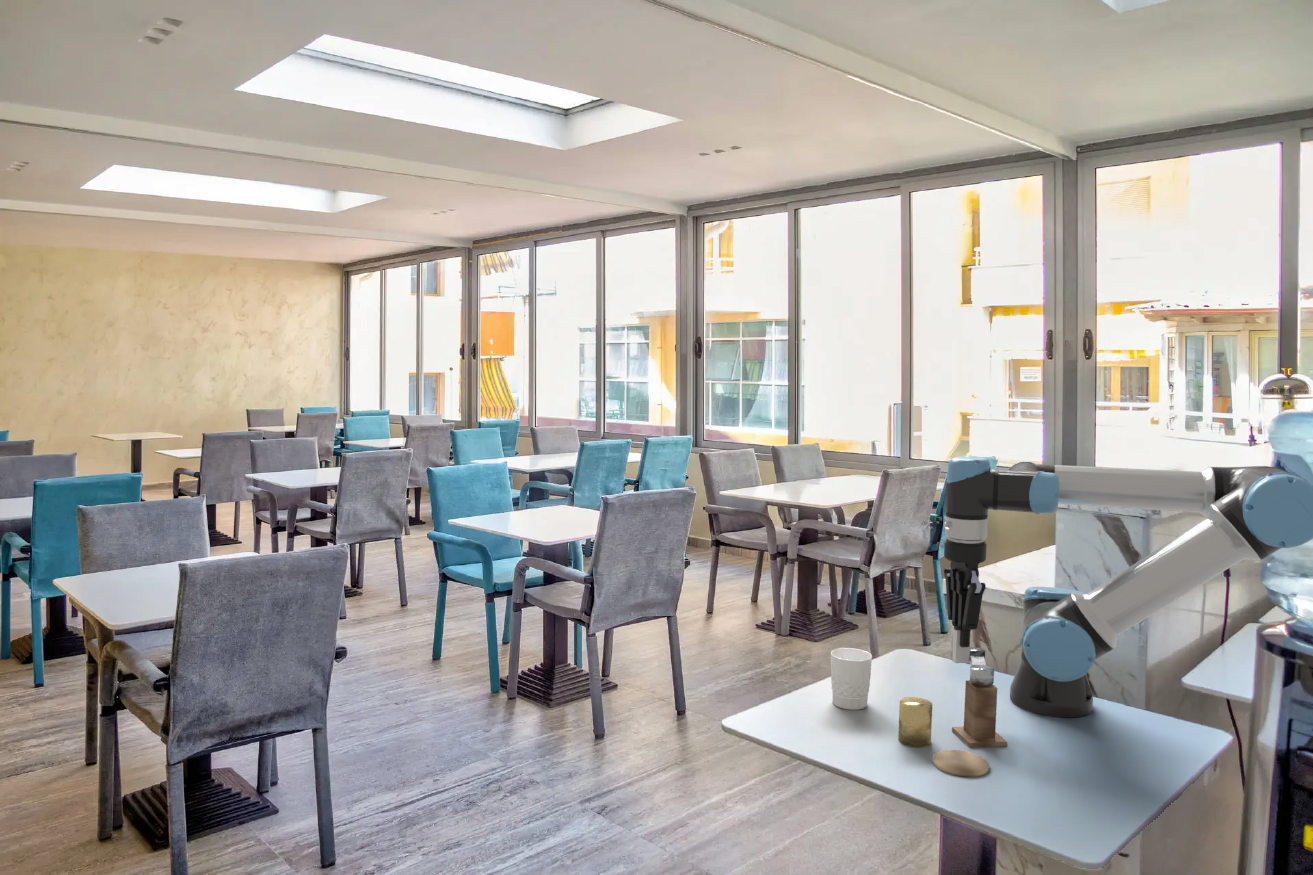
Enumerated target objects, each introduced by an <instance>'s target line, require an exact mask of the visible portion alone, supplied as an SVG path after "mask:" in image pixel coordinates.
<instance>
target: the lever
mask: <svg viewBox="0 0 1313 875" xmlns="http://www.w3.org/2000/svg"><path fill="white" fill-rule="evenodd" d="M969 663H970V664H969V665H970V666H969V667H970V669H969V680H970V682H972V683H974V684H977V685H984V686H987V685H992V684H993V685H994V680H995V679H994V676H995V668H993V667H992V666H989V665H987V663H986V650H985V649H984V648H981V647H973V646H972V647H971V646H970V657H969Z"/></svg>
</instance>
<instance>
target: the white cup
mask: <svg viewBox="0 0 1313 875" xmlns="http://www.w3.org/2000/svg"><path fill="white" fill-rule="evenodd" d="M872 660H873V655H872V654H871V653H870V652H869V651H866V650H864V649H859V648H854V647H839V648H835V649H833V650H831V651H830V665H831V666H830V673H831V675H830V676H831V677H830V678H831V681H830V682H831V691H832V704H833V705H834V706H836V707H838V708H841V709H844V710H848V711H849V710H850V711H851V710H852V711H857V710H862V709H865V708H867V706H868V700H869V692H870V685H871V684H870V683H871V682H870V681H871V676H872V663H873V662H872Z"/></svg>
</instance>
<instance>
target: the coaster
mask: <svg viewBox="0 0 1313 875" xmlns="http://www.w3.org/2000/svg"><path fill="white" fill-rule="evenodd" d="M932 764H933V765H934V766H935V767H936V769H938V770H940V771H942V772H944V773H946V774H949V775H953V776H957V777H964V778H975V777H982V776H984V775H986V774H988V772H989V770H990V762H989V761H988V760H987V759H986V758H984V757H982V756H981V755H979V754H976V753H973V752H971V751H966V750H960V749H944V750H940V751H936V752H935V753H934V754H933V755H932Z"/></svg>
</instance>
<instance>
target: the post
mask: <svg viewBox="0 0 1313 875" xmlns="http://www.w3.org/2000/svg"><path fill="white" fill-rule="evenodd" d="M964 691H965V692H964V710H963V711H964V715H963V726H952V727H951V733H954V735H955V736H956V737H957V738H958V739H959V740H960V741H962V743H964V744H965V745H966V746H967V747H968V748H987V747H1007V746H1008V741H1007V740H1006V739H1005V738H1004V737H1003V736H1001V735H1000V734H999V733H998V732H997V731H996V728H997V727H996V726H997V725H996V724H997V704H998V702H997V701H998V687H997V686H996V685H995V684H994V683H993V684H992V685H987V686H984V685H977V684H974V683H972V682H970V679H969V680H965V689H964Z"/></svg>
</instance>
